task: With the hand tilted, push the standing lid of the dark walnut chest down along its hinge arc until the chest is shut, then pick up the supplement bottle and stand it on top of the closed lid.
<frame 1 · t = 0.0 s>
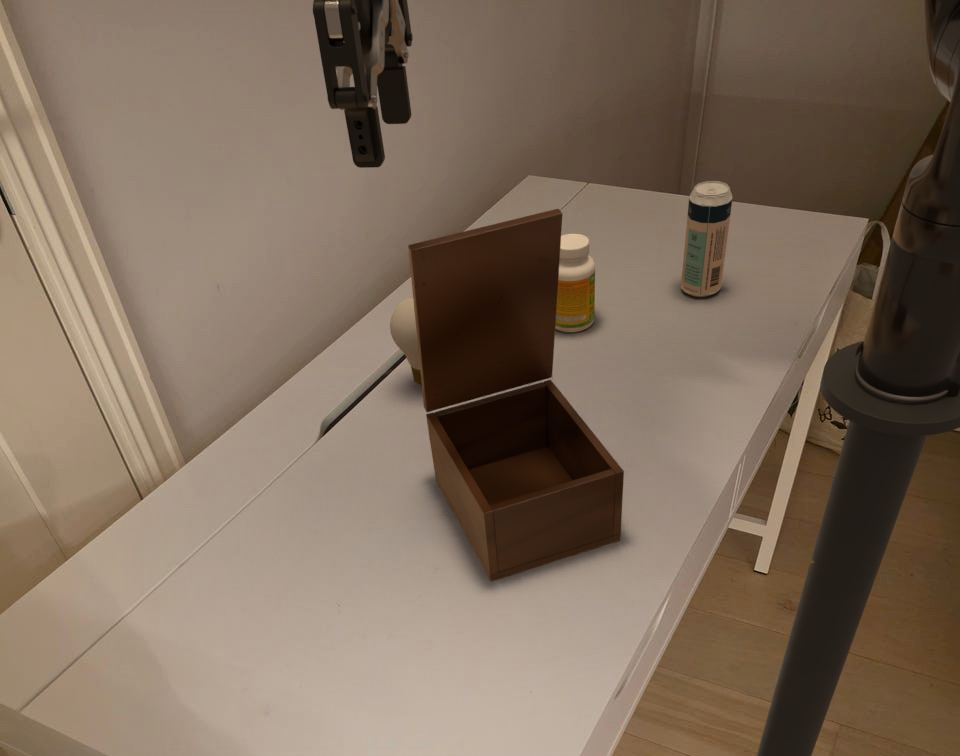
hand: (384, 143, 66), 30 cm above the table, tool pointing down, fingers open, 8 cm apart
light bulb: (426, 385, 99), on the table
lid: (487, 318, 75), point 16 cm above the table, hinge at 80.0°
beer can: (700, 291, 108), on the table
supplement bottle: (571, 323, 105), on the table
chest: (523, 509, 83), on the table
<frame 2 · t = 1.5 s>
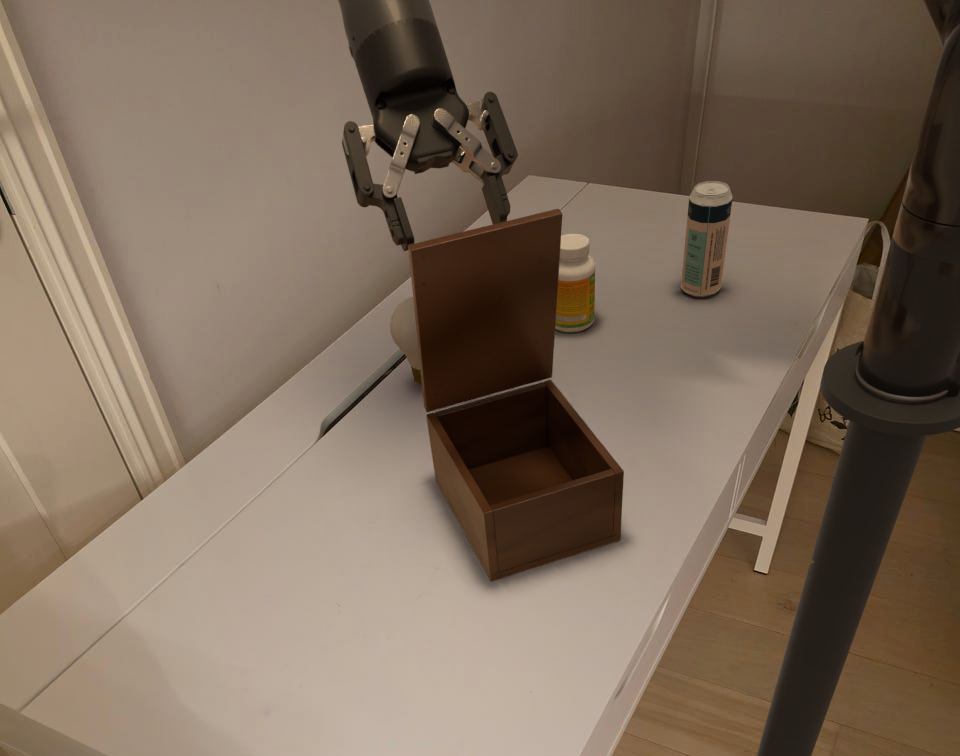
hand: (456, 235, 76), 21 cm above the table, tool tilted 45°, fingers open, 8 cm apart
nothing on the table moved.
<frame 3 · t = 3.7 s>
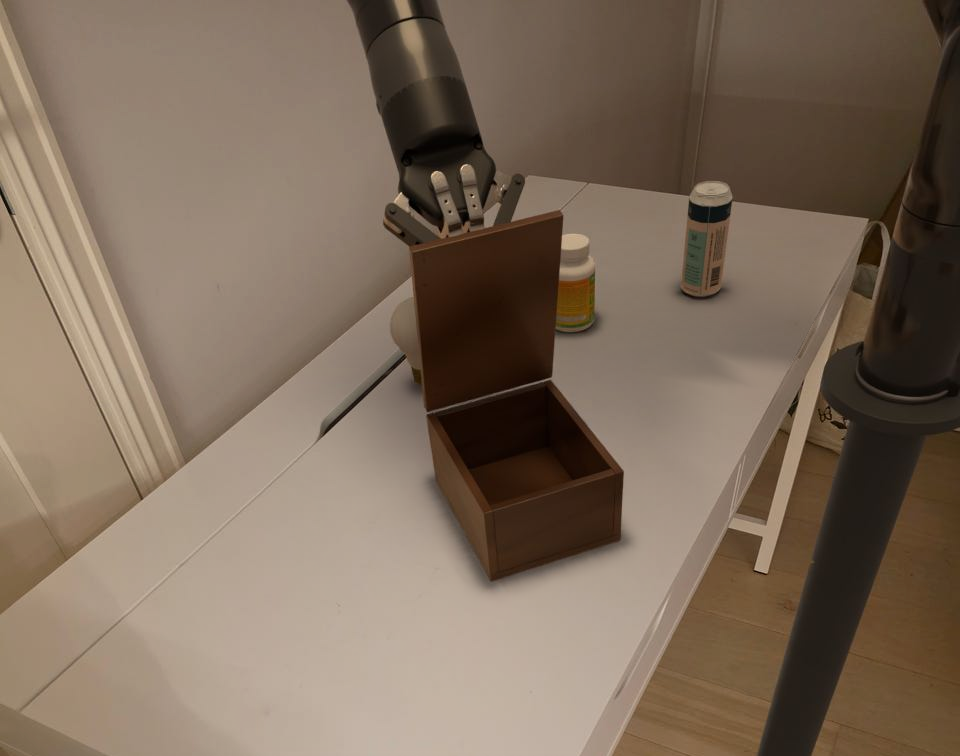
hand: (485, 303, 75), 17 cm above the table, tool tilted 45°, fingers closed
lid: (488, 318, 75), point 16 cm above the table, hinge at 79.2°, touching gripper
everything else where it was.
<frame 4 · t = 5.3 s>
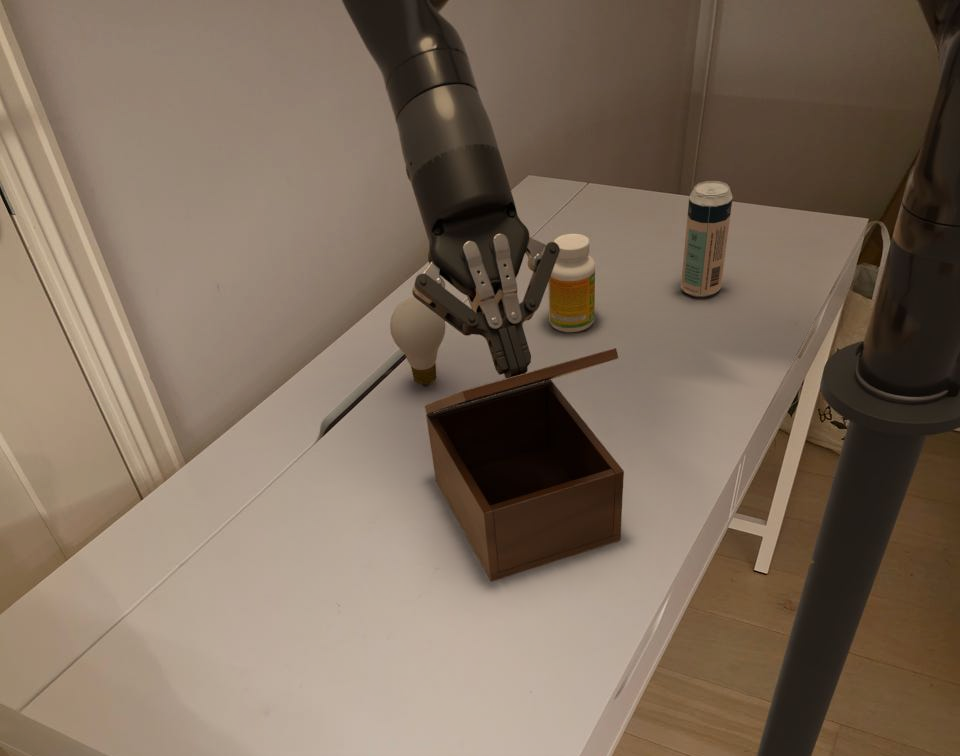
hand: (517, 375, 72), 15 cm above the table, tool tilted 45°, fingers closed
lid: (512, 384, 74), point 13 cm above the table, hinge at 34.8°
everything else where it was.
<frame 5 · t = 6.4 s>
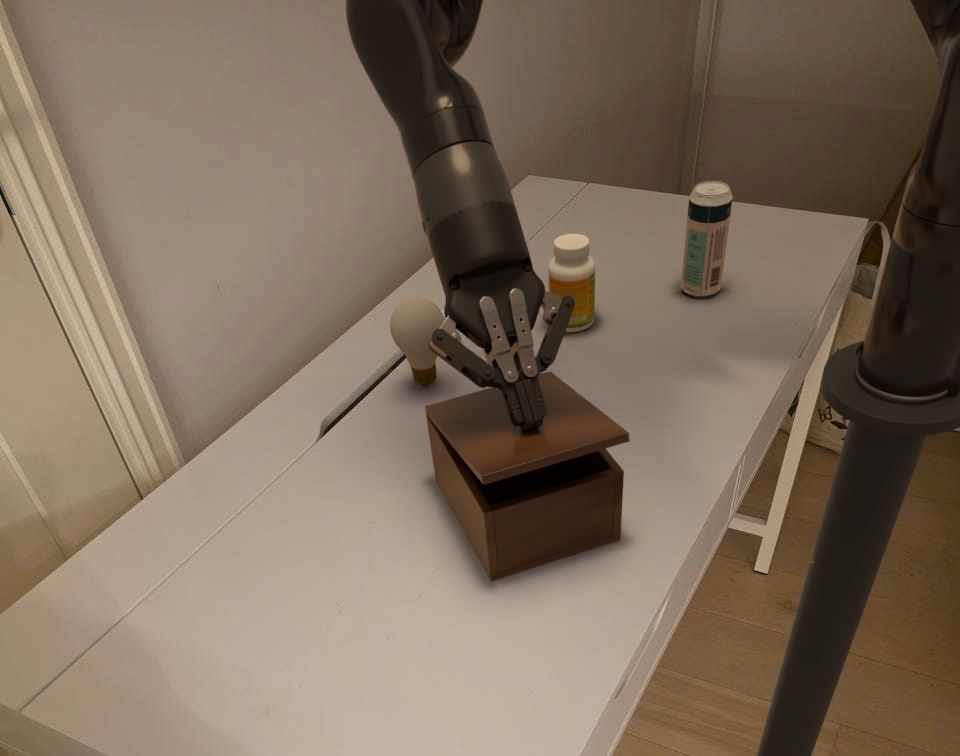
hand: (532, 427, 72), 11 cm above the table, tool tilted 45°, fingers closed
lid: (520, 422, 76), point 10 cm above the table, hinge at 11.7°, touching gripper
everything else where it was.
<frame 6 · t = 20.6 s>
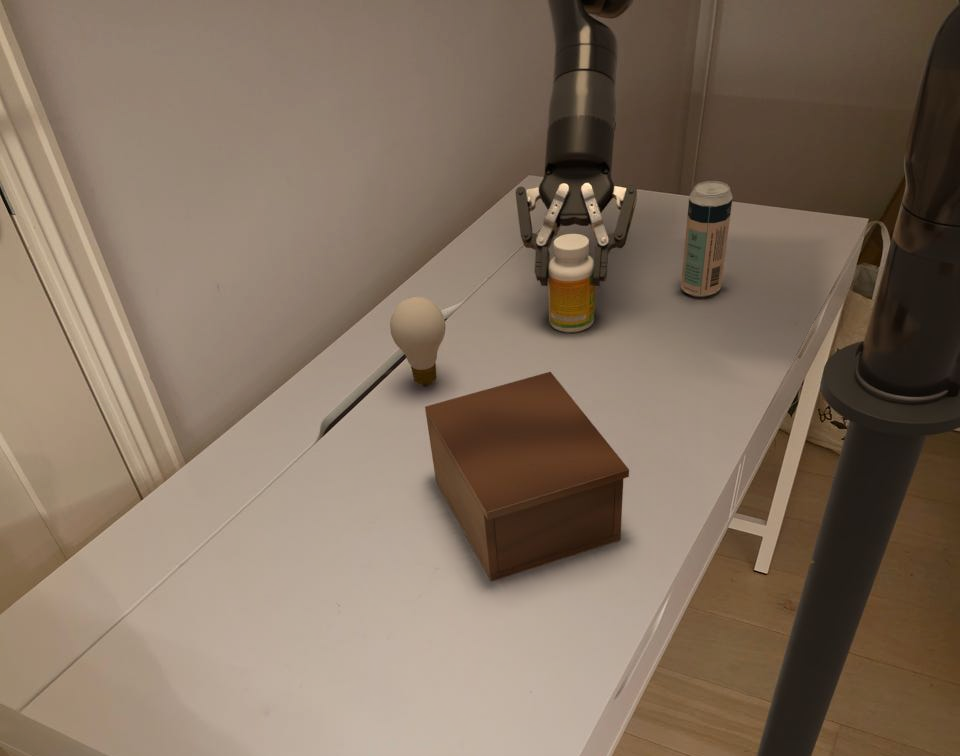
hand: (570, 283, 100), 6 cm above the table, tool tilted 45°, fingers closed on supplement bottle, 5 cm apart
lid: (521, 439, 77), point 8 cm above the table, hinge at -0.2°, touching chest
supplement bottle: (571, 323, 105), on the table, touching gripper
everything else where it was.
when the fingers open (14 cm above the table, at t = 31.4 s): supplement bottle stays where it is, resting on lid.
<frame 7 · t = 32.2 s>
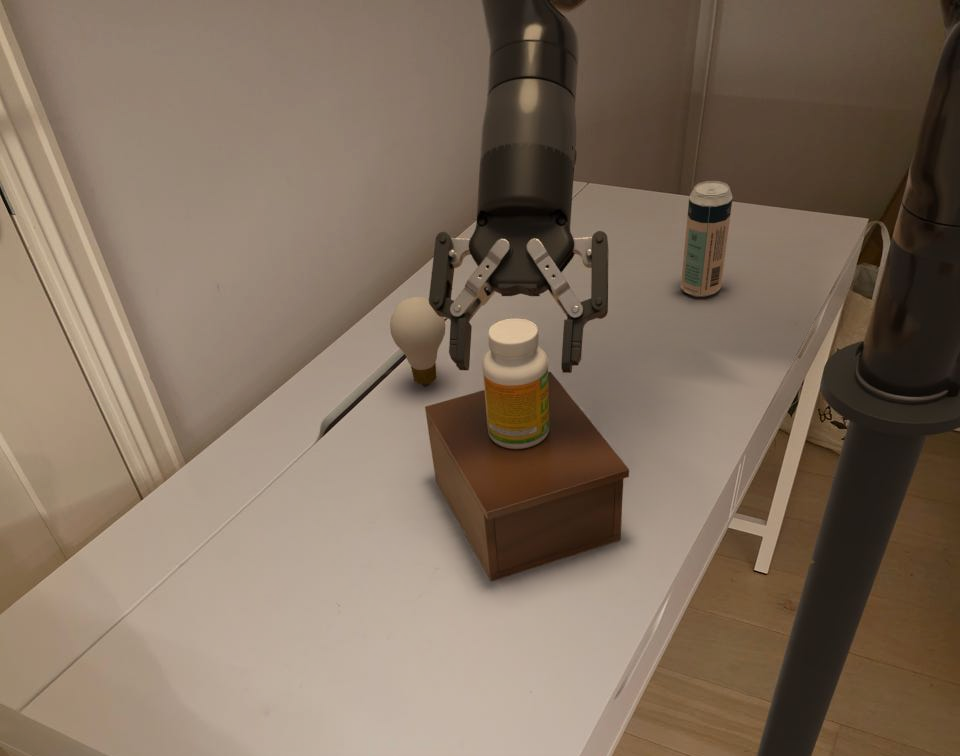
hand: (514, 369, 71), 16 cm above the table, tool tilted 45°, fingers open, 8 cm apart
lid: (521, 439, 77), point 8 cm above the table, hinge at -0.2°, touching chest, supplement bottle
supplement bottle: (519, 434, 77), point 8 cm above the table, touching lid
everything else where it was.
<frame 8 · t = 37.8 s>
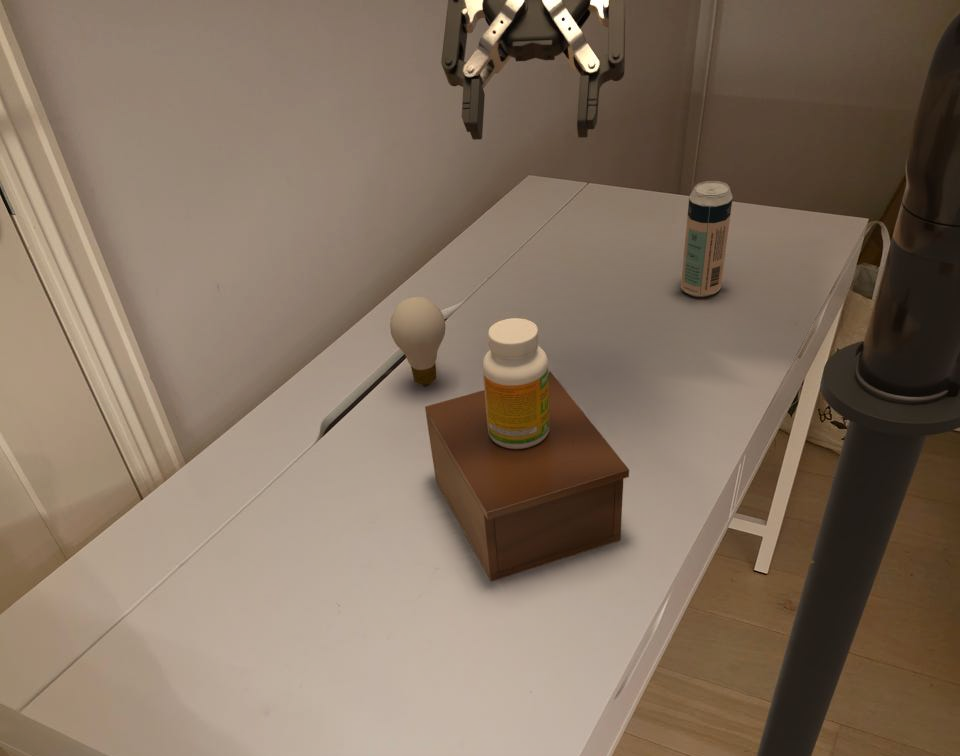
hand: (528, 134, 69), 29 cm above the table, tool tilted 45°, fingers open, 8 cm apart
nothing on the table moved.
at the end: lid at +0° (first picture: +80°); supplement bottle inside the target area on the chest (0.2 cm from its centre), point 8.4 cm above the chest's base; supplement bottle tilted 0° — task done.
